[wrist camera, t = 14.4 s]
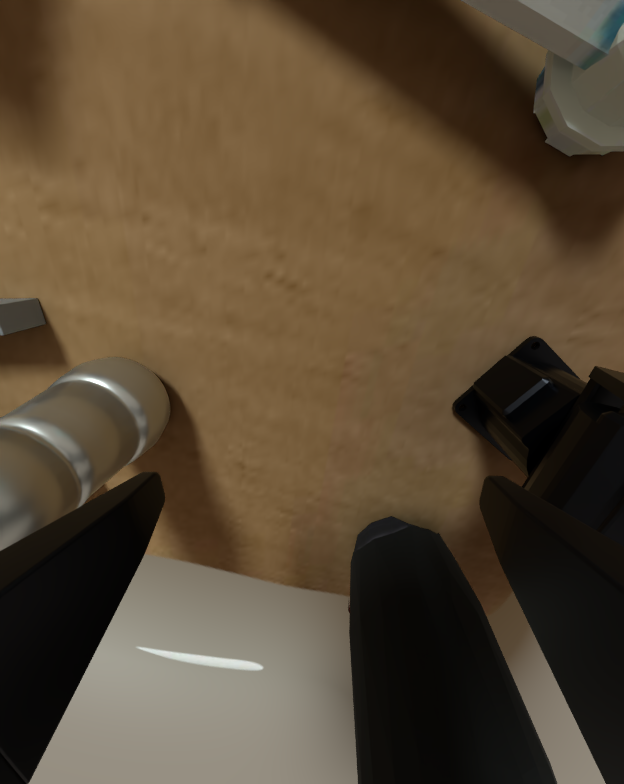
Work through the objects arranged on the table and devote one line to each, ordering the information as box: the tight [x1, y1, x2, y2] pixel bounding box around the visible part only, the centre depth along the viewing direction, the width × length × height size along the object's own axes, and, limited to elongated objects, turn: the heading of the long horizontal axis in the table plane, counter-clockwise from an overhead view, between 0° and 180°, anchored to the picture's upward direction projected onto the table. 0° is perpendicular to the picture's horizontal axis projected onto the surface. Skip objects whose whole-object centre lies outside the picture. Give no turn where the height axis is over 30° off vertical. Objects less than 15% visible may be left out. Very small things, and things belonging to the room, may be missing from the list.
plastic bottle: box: [0, 357, 170, 551], centre depth 14 cm, size 6×7×20 cm
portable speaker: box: [348, 516, 557, 784], centre depth 19 cm, size 9×9×20 cm
